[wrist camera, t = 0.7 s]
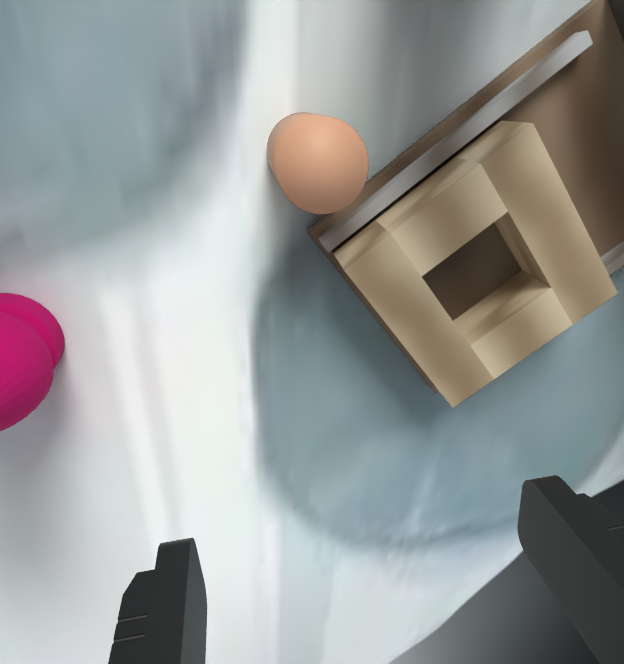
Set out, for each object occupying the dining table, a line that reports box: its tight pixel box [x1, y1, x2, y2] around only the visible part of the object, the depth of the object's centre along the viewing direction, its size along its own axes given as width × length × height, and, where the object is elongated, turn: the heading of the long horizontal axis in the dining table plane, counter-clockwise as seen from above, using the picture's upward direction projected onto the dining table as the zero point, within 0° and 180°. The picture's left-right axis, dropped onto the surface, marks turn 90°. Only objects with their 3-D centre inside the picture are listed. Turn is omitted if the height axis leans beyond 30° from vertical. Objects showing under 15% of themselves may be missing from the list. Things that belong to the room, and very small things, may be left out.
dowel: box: [267, 113, 369, 214], centre depth 27 cm, size 4×4×8 cm
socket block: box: [331, 120, 618, 408], centre depth 32 cm, size 13×13×4 cm
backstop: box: [307, 0, 624, 394], centre depth 30 cm, size 24×16×9 cm
